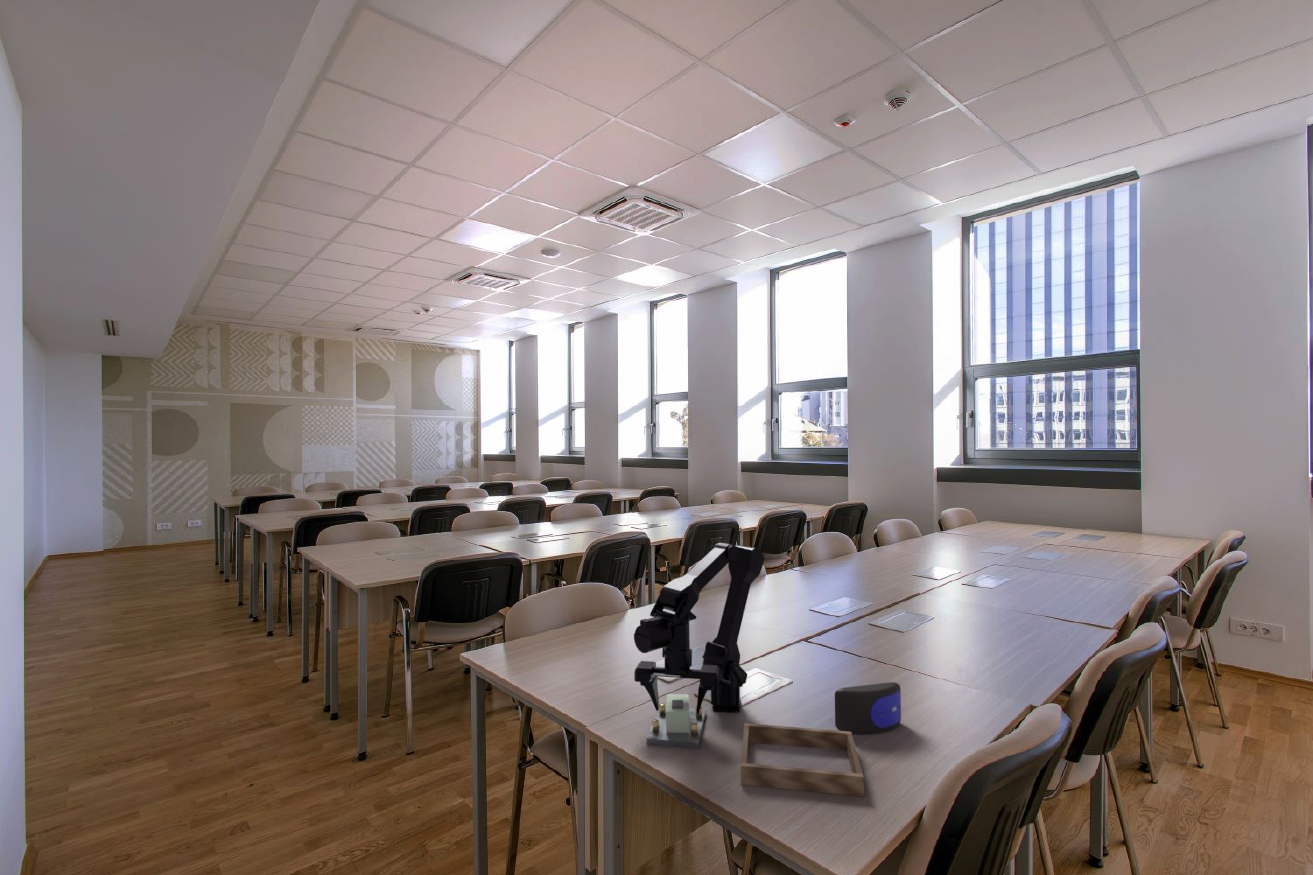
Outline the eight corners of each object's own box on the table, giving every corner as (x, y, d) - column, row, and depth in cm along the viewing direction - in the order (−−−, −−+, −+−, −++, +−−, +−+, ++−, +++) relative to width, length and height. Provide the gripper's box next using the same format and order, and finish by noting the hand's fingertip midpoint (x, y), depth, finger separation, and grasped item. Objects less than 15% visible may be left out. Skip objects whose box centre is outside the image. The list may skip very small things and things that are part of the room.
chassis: (706, 714, 139) (706, 700, 139) (697, 748, 123) (697, 733, 123) (660, 710, 141) (660, 697, 141) (646, 743, 125) (646, 728, 125)
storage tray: (851, 748, 123) (851, 731, 123) (863, 796, 106) (863, 776, 106) (744, 739, 127) (744, 723, 127) (740, 784, 110) (740, 765, 110)
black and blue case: (844, 739, 127) (843, 695, 127) (833, 729, 131) (832, 686, 131) (910, 730, 130) (910, 687, 130) (897, 721, 135) (897, 679, 135)
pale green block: (688, 713, 137) (688, 691, 137) (689, 732, 128) (688, 708, 128) (667, 713, 137) (667, 691, 137) (666, 732, 128) (665, 708, 128)
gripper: (721, 632, 139) (722, 699, 138) (644, 628, 142) (644, 693, 142) (717, 648, 128) (718, 721, 127) (633, 644, 131) (634, 714, 131)
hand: (677, 711), depth 132 cm, fingers open, 9 cm apart
